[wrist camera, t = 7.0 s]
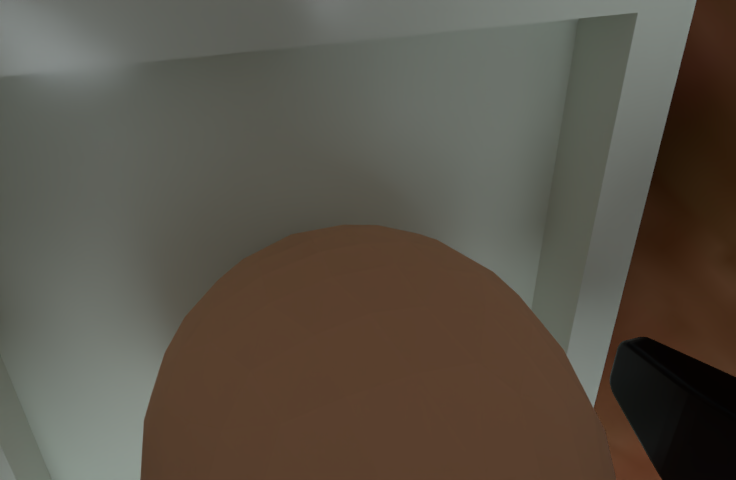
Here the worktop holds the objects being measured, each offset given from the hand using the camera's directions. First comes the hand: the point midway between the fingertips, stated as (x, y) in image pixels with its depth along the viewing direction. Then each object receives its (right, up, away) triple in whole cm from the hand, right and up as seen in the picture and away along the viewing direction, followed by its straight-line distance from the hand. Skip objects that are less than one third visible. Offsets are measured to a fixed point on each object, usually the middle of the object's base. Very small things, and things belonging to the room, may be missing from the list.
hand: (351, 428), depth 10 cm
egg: (-1, +2, +3) cm, 3 cm away
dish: (-1, +2, +3) cm, 4 cm away
